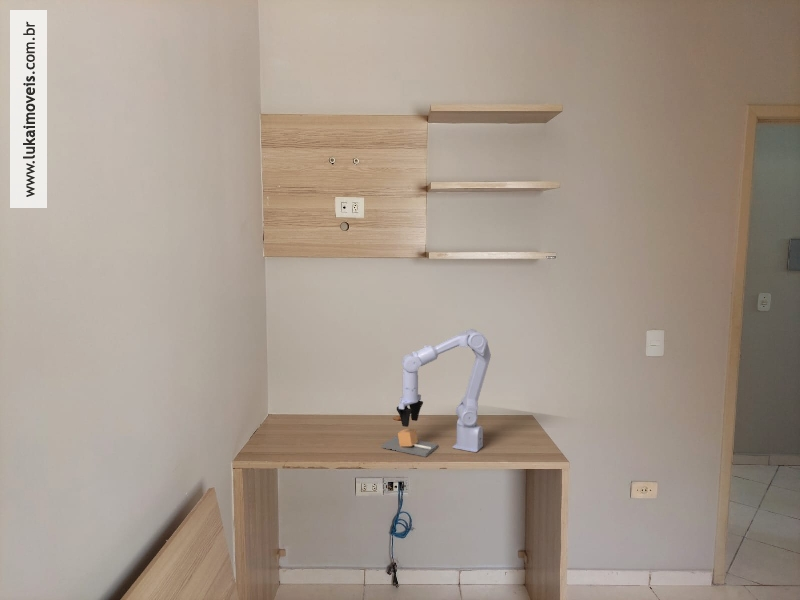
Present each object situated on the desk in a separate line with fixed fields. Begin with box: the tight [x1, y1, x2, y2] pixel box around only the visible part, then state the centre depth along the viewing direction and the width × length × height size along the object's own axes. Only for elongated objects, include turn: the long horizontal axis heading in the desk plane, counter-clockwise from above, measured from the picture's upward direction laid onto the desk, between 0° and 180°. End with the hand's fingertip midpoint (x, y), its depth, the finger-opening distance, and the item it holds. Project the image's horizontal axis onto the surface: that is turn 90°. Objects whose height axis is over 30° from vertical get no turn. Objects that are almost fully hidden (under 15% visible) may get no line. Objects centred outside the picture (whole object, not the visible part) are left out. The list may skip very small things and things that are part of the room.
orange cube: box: [397, 428, 419, 446], centre depth 191 cm, size 5×5×5 cm
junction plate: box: [381, 435, 439, 457], centre depth 192 cm, size 18×11×4 cm, turn 62°
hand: (409, 423), depth 191 cm, fingers open, 7 cm apart
